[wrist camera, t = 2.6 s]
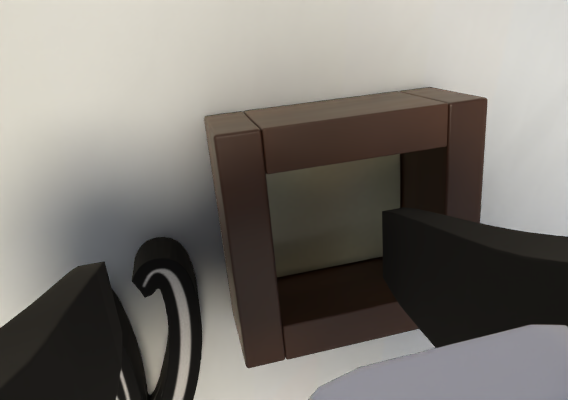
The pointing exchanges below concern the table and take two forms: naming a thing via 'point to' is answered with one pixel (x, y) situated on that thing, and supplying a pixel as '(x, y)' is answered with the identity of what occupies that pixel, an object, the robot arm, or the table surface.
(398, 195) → the frame
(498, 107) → the table surface
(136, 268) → the nameplate
